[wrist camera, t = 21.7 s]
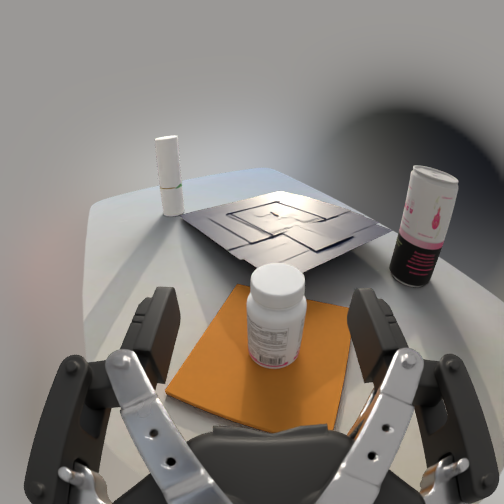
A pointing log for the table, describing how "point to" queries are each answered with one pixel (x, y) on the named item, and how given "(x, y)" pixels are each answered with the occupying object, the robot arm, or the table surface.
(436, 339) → the table surface
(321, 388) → the amber mat
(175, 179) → the tube
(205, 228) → the papers
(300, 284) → the pill bottle
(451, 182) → the beverage can
